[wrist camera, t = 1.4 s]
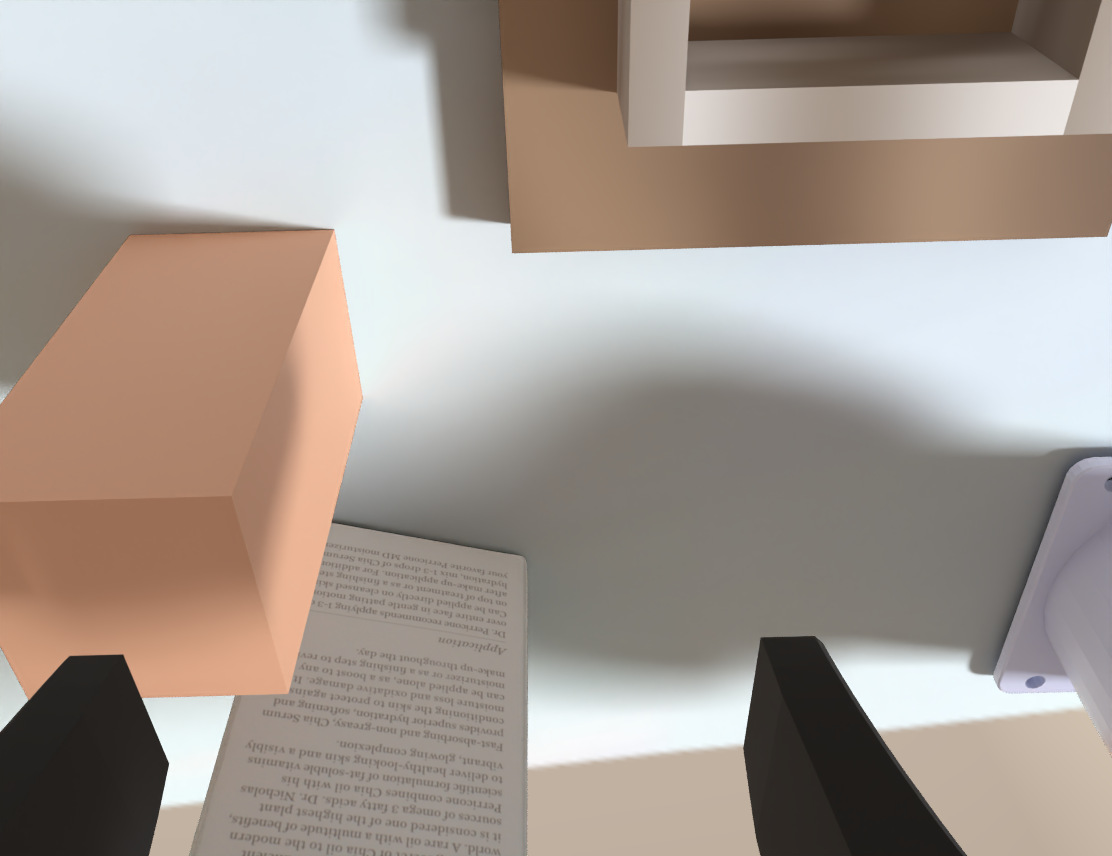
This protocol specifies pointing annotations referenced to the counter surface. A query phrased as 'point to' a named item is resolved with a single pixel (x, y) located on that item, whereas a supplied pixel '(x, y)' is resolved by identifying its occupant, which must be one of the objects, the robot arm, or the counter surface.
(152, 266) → the peg
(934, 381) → the counter surface
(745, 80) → the socket board
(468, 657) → the skincare box
